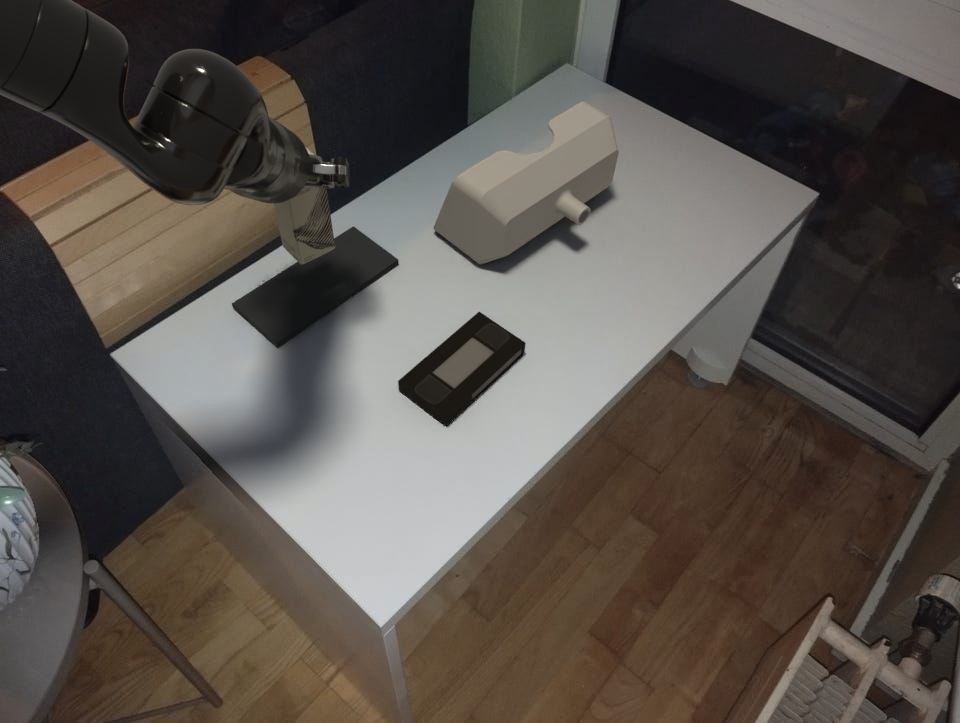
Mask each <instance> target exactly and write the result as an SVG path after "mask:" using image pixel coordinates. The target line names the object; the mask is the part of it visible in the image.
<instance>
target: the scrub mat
mask: <svg viewBox="0 0 960 723" xmlns="http://www.w3.org/2000/svg"><path fill="white" fill-rule="evenodd" d="M334 242H335V249H333V250H331V251H329V252H327V253H325V254H323V255H322V256H320V257H317V258H315V259H313V260H311V261H309V262H307V263H304V264H300V263H299V262H298V261H296V262H295V263H293V264H292V265H290V266H289V267H287V268H285V269H284V270H282V271H281V272H279V273H277V274H276V275H274V276H273V277H270V278H269V279H268V280H266V281H265V282H263V283H262V284H260V285H258V286H257V287H255V288H253V289H252V290H251V291H249V292H247V293H246V294H244V295H243V296H241V297H240V298H238V299H236V300H235V301H233V302H231V306H232V309H233V310H234V311H235V312H236V313H237V314H239V316H241V317H242V318H243V319H244V320H245V321H246V322H247V323H249V324H250V325H251V326H252V327H253V328H254V329H255V330H257V331H258V333H260V334H261V335H262V336H263V337H264V338H265V339H267V341H269V342H270V343H271V344H272V345H273V346H274V347H275V348H277V349H279V348H280V347H282V346H283V345H285V344H287V343H288V342H289V341H290V340H292V339H293V338H295V337H296V336H298V335H299V334H301V333H302V332H303V331H305V330H306V329H308V328H309V327H311V326H312V325H314V324H315V323H316V322H318V321H320V320H321V319H323V318H324V317H325V316H327V315H328V314H330V313H331V312H332V311H334V310H335V309H337V308H338V307H340V306H342V305H343V304H344V303H345V302H347V301H349V299H351V298H353V297H354V296H356V295H358V293H360V292H361V291H363V290H364V289H366V288H367V287H369V286H370V285H371V284H373V283H374V282H376V281H377V280H379V279H380V278H382V277H383V276H385V275H386V274H387V273H389V272H390V271H392V270H393V269H394V268H396V267H398V266H399V265H400V264H399V263H400V262H399V259H398V258H397V257H395V256H394V255H393V254H392V253H391V252H389V251H387V249H385V248H383V247H382V246H381V245H379V244H378V243H377V242H376V241H374V240H373V239H372V238H370V237H369V236H368V235H366V234H365V233H364V232H362V231H361V230H360V229H358V228H357V227H356V226H351V227H350V228H348V229H346V230H345V231H344V232H342V233H340V234H339V235H337V236H336V237H334Z"/></svg>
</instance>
